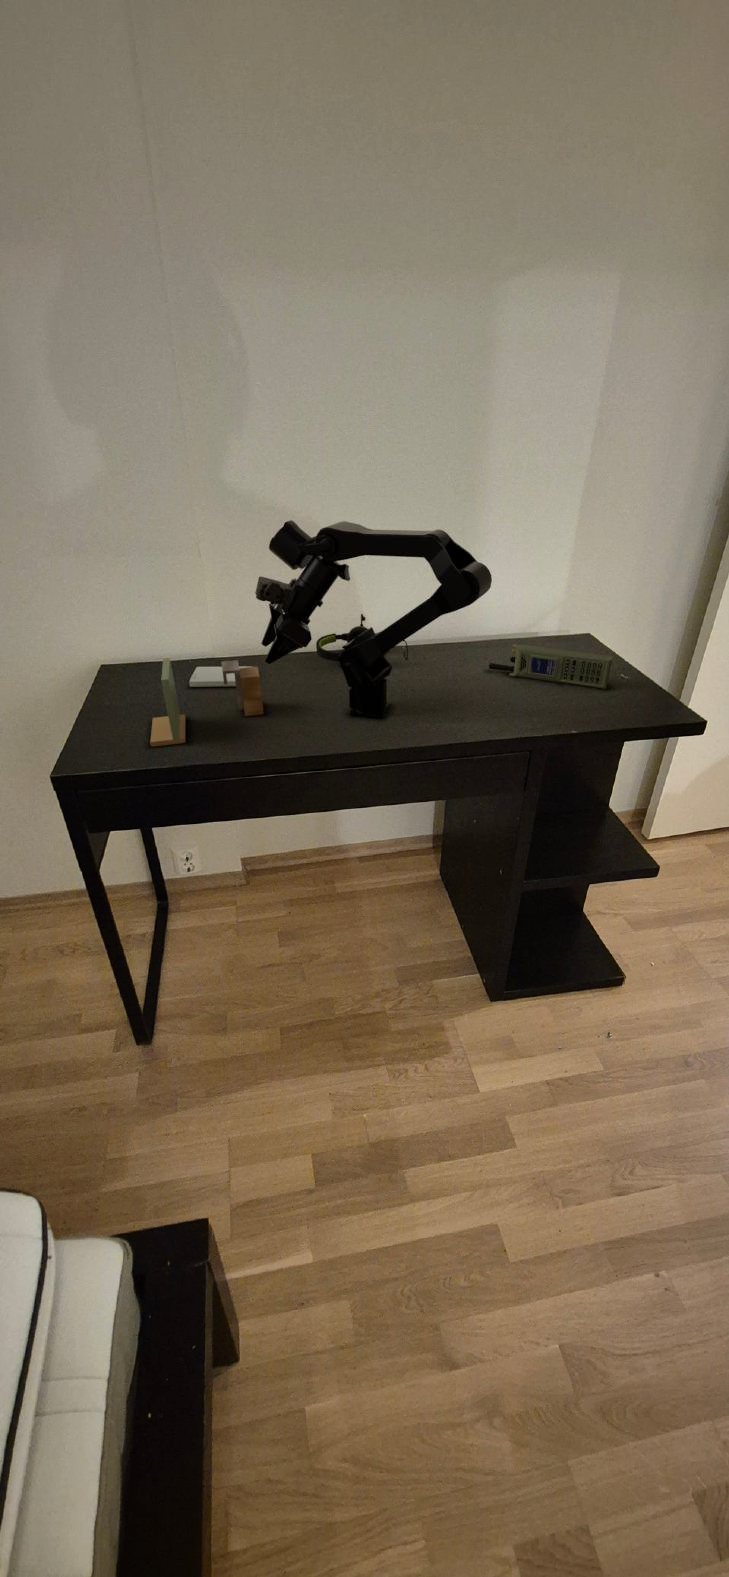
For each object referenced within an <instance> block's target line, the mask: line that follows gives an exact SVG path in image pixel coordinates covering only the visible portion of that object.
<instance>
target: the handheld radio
mask: <svg viewBox="0 0 729 1577" xmlns="http://www.w3.org/2000/svg"><path fill="white" fill-rule="evenodd" d="M513 647H514V648H513ZM511 653H512V654H515V656H511V657H510V658H509V661H510V662H511V663H514V665H506V664H500V663H493V662H490V663H489V664H488V669H489V670H494V671H503V672H509V674H508V676H509V677H511V676H512V677H515V678H516V677H517V678H523V679H530V680H538V681H546V682H552V683H559V684H566V685H572V686H573V685H574V686H580V687H587V688H595V689H603V690H607V686H608V682H609V677H610V671H611V668H612V661H613V656H612V655H605V654H599V653H591V652H590V653H589V652H582V651H574V650H573V651H572V650H567V649H566V650H565V649H556V648H551V647H550V648H548V647H540V646H533V645H526V644H514V643H513V644H512V650H511Z"/></svg>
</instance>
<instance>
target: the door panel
mask: <svg viewBox="0 0 729 1577" xmlns="http://www.w3.org/2000/svg"><path fill="white" fill-rule="evenodd" d="M161 667H162V668H161V678H160V679H161V685H162V692H163V696H164V701H165V702H164V703H165V708H166V712H167V716H157V717H152V722H151V732H150V741H149V742H150V747H162V746H170V745H171V746H172V745H178V744H186V733H187V732H186V726H187V725H186V722H187V721H186V720H187V718H186V714H181V713H180V712H181V711H180V706H179V701H178V696H177V689H176V684H175V679H174V674H173V669H172V662H171V658H163V659H162V666H161Z"/></svg>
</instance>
